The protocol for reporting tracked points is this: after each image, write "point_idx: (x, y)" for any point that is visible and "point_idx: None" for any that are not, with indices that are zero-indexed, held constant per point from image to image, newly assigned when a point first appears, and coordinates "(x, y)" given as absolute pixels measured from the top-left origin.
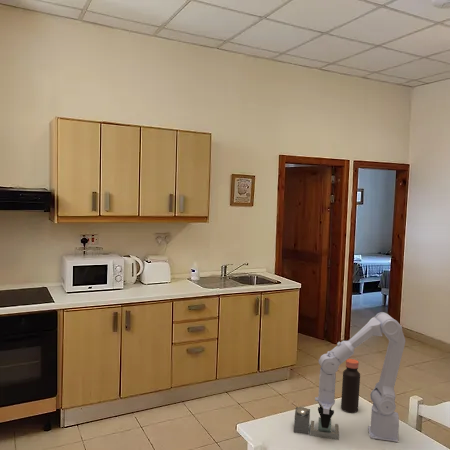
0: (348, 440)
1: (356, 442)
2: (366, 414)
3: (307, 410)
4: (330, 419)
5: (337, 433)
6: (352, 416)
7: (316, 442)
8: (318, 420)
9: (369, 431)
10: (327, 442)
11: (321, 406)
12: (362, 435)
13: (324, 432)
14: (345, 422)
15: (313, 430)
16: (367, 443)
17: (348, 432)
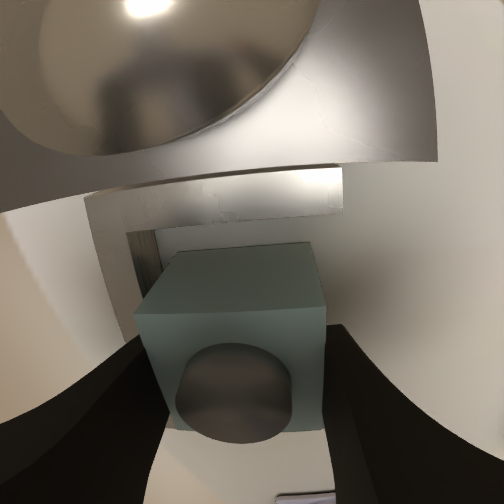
0: (201, 436)
1: (202, 459)
2: (499, 448)
3: (137, 104)
4: (305, 426)
5: (169, 421)
6: (495, 417)
7: (51, 251)
8: (306, 284)
9: (330, 497)
10: (96, 328)
11: (366, 497)
12: (295, 478)
13: (125, 335)
14: (437, 410)
15: (94, 229)
16: (221, 485)
17: (307, 438)
